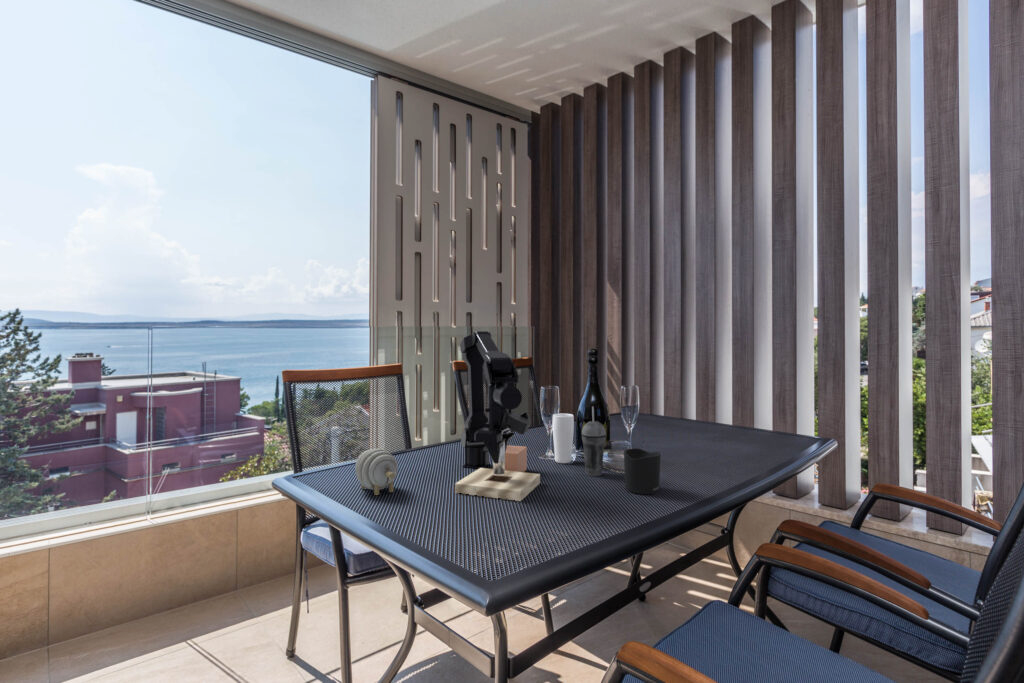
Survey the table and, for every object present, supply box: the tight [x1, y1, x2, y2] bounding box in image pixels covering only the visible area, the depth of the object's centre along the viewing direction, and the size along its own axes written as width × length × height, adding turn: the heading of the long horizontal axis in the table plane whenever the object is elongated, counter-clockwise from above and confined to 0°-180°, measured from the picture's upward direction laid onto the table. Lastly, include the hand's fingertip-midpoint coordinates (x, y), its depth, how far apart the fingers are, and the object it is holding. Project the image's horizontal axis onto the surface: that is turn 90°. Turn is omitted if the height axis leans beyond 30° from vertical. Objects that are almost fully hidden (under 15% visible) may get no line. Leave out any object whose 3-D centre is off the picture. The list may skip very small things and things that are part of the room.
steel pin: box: [492, 441, 505, 475], centre depth 140 cm, size 3×3×9 cm
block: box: [505, 444, 528, 473], centre depth 155 cm, size 6×9×7 cm
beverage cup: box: [581, 406, 608, 477], centre depth 153 cm, size 7×7×20 cm
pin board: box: [454, 467, 541, 502], centre depth 140 cm, size 18×16×2 cm
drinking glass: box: [551, 412, 575, 464], centre depth 167 cm, size 7×7×15 cm
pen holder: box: [623, 448, 662, 495], centre depth 139 cm, size 9×9×10 cm
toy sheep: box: [354, 448, 399, 496], centre depth 138 cm, size 11×17×11 cm, turn 46°
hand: (498, 461), depth 140 cm, fingers closed on steel pin, 3 cm apart
